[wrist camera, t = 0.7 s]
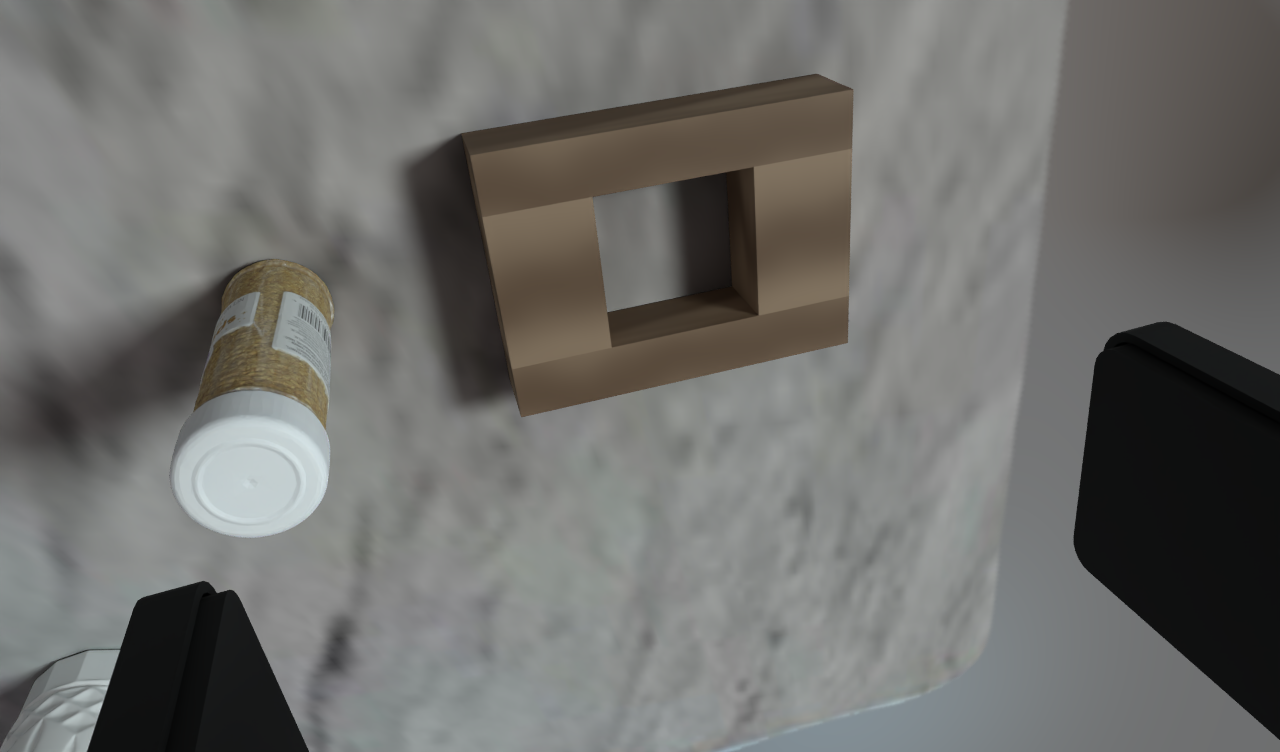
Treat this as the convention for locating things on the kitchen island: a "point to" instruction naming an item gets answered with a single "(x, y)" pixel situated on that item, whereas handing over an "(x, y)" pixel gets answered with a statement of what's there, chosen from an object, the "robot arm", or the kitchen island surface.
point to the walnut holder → (651, 155)
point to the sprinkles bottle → (260, 407)
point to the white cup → (63, 705)
